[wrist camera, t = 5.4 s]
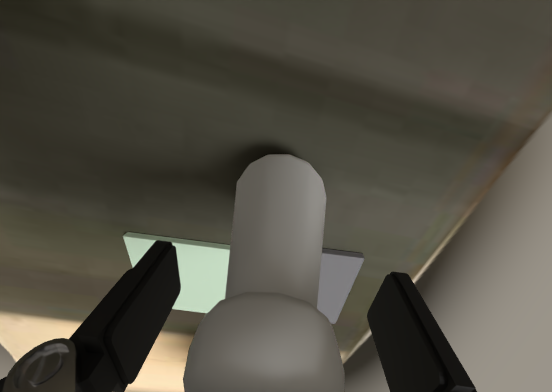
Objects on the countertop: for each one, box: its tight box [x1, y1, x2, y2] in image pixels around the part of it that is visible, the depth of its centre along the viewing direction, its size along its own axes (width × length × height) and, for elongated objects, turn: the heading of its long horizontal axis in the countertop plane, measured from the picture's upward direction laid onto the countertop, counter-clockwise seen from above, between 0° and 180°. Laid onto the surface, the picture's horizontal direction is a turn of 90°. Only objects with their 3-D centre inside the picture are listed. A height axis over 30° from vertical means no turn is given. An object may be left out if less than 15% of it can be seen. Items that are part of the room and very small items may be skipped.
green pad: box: [123, 232, 230, 313], centre depth 22 cm, size 10×10×1 cm
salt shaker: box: [183, 154, 345, 392], centre depth 11 cm, size 6×6×13 cm
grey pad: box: [317, 248, 364, 324], centre depth 22 cm, size 10×10×1 cm
